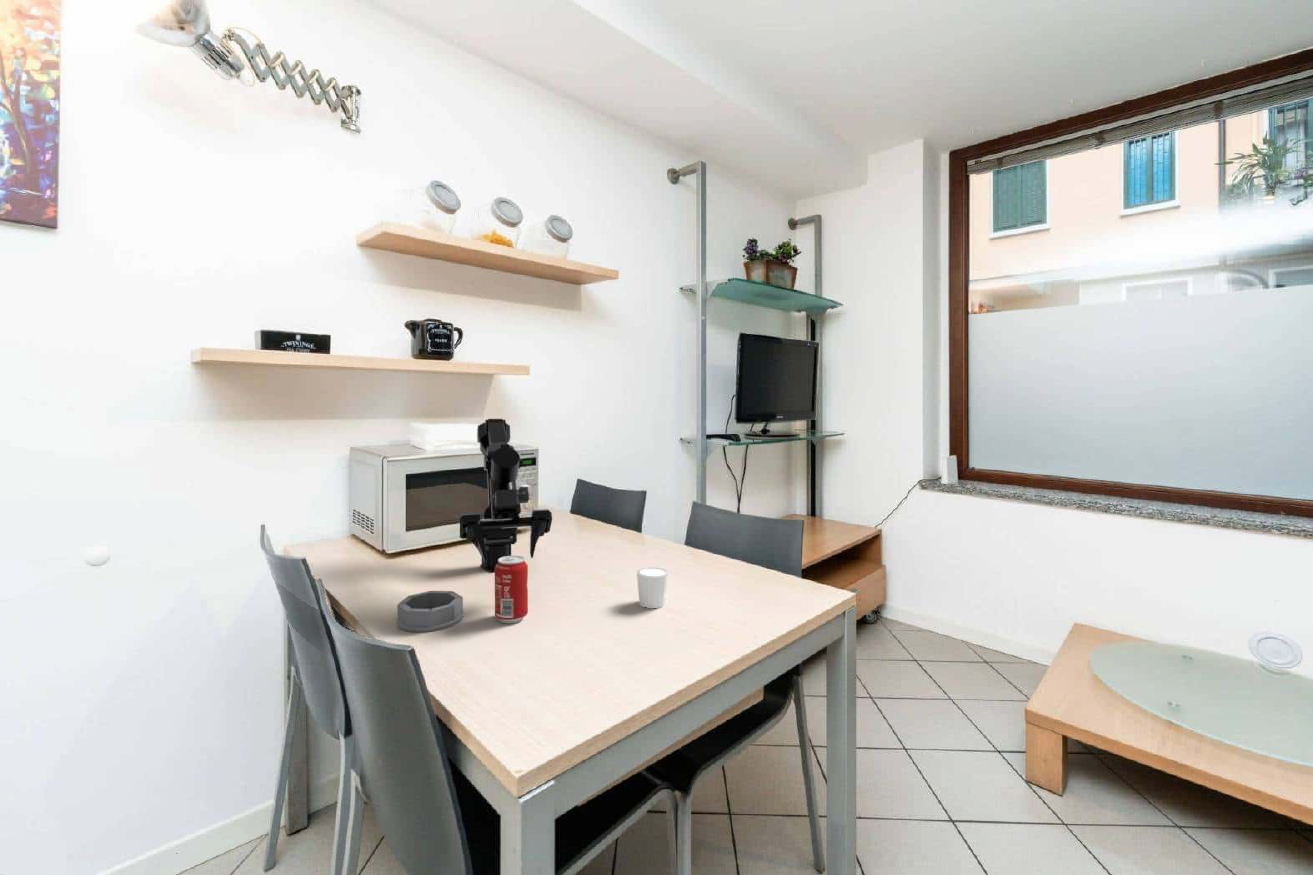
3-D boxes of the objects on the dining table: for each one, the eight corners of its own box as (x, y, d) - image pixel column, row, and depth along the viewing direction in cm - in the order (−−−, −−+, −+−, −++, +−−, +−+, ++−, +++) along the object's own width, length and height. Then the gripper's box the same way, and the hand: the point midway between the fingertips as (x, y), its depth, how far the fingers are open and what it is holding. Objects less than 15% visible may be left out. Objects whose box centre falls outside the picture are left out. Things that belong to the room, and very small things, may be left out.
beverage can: (533, 615, 111) (533, 556, 111) (516, 627, 106) (515, 565, 105) (507, 610, 114) (506, 553, 113) (488, 622, 108) (487, 561, 107)
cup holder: (447, 603, 117) (447, 585, 117) (474, 620, 108) (473, 601, 108) (387, 618, 109) (387, 599, 108) (411, 638, 100) (411, 617, 100)
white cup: (635, 598, 122) (636, 567, 121) (666, 597, 122) (667, 566, 122) (637, 610, 115) (637, 577, 114) (670, 609, 115) (670, 576, 115)
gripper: (459, 475, 113) (460, 541, 104) (550, 472, 120) (560, 534, 110) (459, 506, 121) (460, 570, 112) (545, 502, 128) (553, 562, 118)
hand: (509, 558), depth 113 cm, fingers open, 9 cm apart
